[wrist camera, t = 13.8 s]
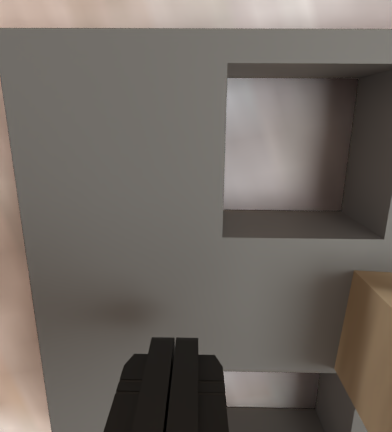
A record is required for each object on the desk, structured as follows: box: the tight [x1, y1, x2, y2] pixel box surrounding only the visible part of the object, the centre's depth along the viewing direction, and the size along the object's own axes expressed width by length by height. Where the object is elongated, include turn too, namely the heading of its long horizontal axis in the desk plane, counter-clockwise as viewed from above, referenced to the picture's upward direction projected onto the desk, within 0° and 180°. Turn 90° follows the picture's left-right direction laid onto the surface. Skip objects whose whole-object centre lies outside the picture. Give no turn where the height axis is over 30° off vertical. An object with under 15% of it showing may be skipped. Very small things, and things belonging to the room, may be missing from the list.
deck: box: [0, 28, 392, 432], centre depth 15 cm, size 20×20×6 cm
